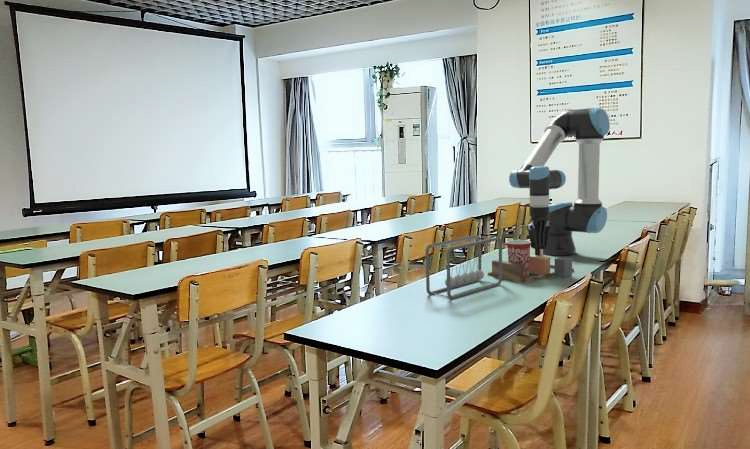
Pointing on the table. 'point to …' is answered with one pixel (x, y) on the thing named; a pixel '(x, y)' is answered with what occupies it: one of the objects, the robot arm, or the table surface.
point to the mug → (519, 253)
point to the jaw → (539, 264)
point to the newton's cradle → (465, 277)
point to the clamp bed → (515, 271)
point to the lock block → (563, 268)
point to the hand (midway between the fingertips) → (539, 265)
